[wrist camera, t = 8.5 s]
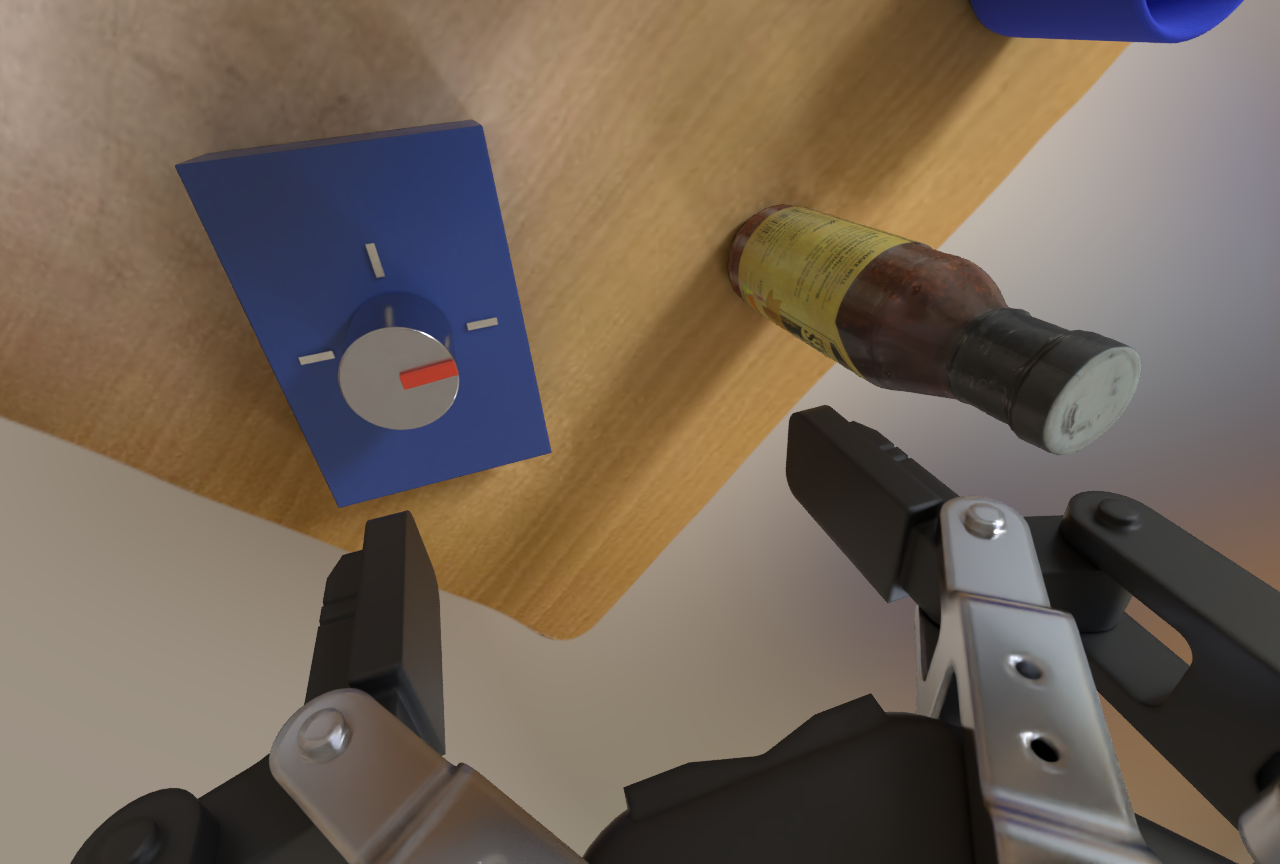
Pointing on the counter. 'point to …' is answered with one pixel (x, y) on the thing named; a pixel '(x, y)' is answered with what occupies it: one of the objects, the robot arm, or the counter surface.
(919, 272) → the sauce bottle
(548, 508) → the counter surface
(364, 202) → the blue knob base block
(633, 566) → the counter surface
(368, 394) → the silver pointer knob
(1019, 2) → the mug
